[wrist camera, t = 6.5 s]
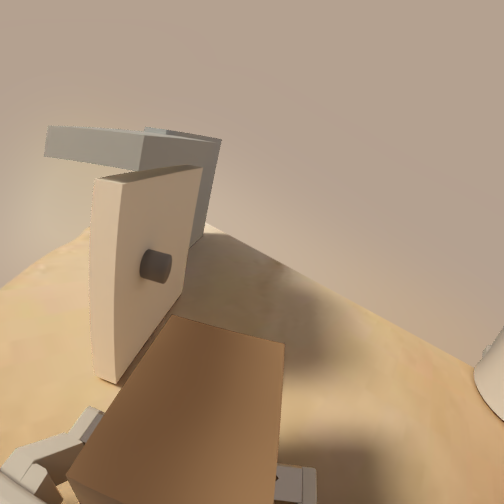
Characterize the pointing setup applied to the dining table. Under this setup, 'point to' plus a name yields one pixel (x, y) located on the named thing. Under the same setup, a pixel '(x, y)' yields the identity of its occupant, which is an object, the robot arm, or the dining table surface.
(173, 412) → the walnut block
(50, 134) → the wall
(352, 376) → the dining table surface
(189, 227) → the door panel
